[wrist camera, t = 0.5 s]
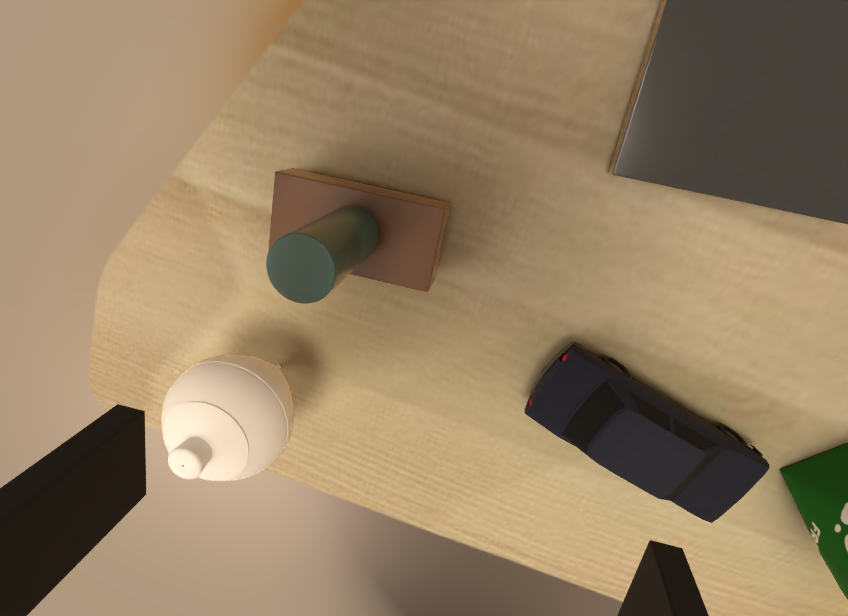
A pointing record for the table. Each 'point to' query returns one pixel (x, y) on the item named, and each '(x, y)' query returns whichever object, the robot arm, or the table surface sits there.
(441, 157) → the table surface
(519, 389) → the table surface
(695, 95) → the slate board
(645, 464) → the toy car
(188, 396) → the spinning top
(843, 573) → the fresh milk carton
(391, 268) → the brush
